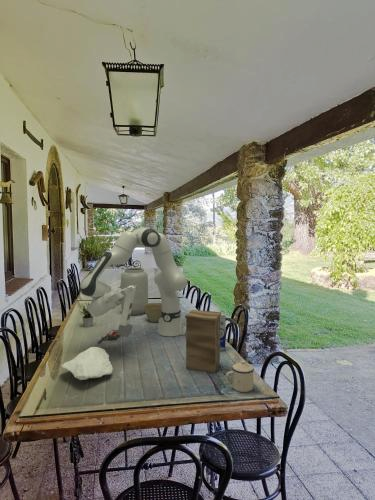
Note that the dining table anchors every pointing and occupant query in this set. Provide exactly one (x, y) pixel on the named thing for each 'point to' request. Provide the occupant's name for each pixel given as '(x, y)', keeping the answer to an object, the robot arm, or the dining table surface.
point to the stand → (203, 340)
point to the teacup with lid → (242, 376)
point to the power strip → (126, 314)
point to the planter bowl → (153, 311)
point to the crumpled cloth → (90, 364)
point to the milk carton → (222, 332)
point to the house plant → (87, 317)
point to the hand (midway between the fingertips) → (134, 287)
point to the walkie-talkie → (110, 336)
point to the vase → (141, 294)
